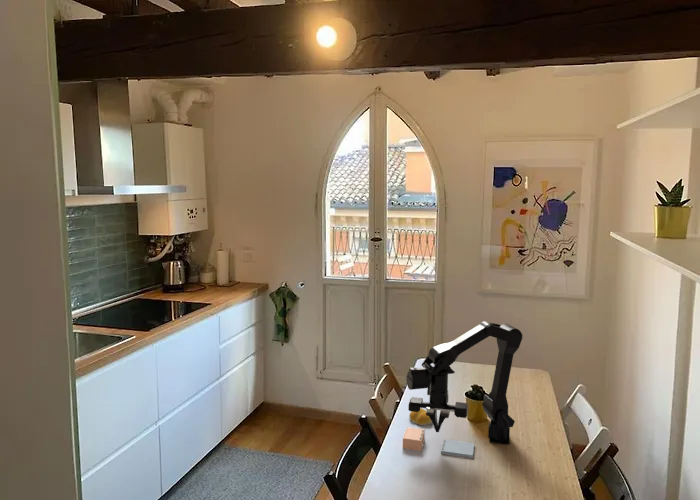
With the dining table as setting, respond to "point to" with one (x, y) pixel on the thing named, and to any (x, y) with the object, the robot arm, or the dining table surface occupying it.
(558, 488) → the dining table surface
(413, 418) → the bread roll
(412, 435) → the stub
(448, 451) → the blue-grey flat panel
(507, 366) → the robot arm
